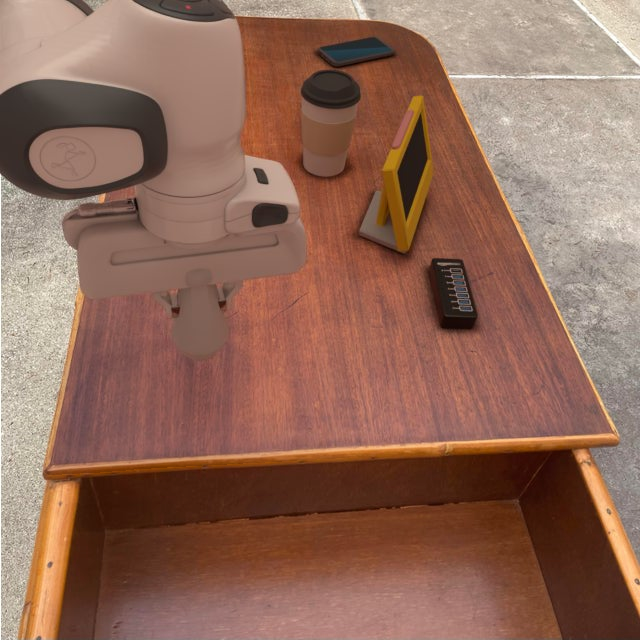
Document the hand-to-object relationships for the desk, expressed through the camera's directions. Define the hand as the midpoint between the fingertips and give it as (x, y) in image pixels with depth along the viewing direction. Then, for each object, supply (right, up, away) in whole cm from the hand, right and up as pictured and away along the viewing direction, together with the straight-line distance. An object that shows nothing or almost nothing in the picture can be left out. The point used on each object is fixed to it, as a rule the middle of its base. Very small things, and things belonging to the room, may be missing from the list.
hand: (198, 309), depth 63 cm
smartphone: (+19, +54, +70) cm, 91 cm away
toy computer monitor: (+23, +14, +34) cm, 43 cm away
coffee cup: (+12, +24, +43) cm, 51 cm away
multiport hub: (+29, +2, +24) cm, 38 cm away
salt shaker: (-1, -4, +4) cm, 6 cm away
